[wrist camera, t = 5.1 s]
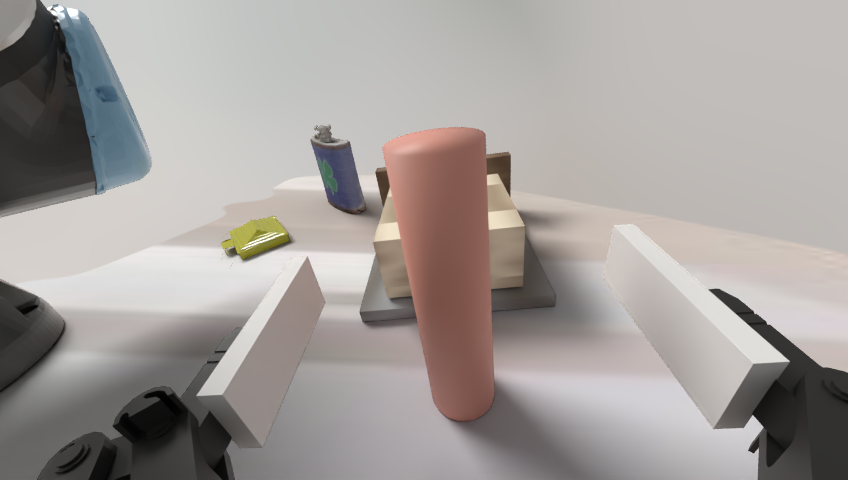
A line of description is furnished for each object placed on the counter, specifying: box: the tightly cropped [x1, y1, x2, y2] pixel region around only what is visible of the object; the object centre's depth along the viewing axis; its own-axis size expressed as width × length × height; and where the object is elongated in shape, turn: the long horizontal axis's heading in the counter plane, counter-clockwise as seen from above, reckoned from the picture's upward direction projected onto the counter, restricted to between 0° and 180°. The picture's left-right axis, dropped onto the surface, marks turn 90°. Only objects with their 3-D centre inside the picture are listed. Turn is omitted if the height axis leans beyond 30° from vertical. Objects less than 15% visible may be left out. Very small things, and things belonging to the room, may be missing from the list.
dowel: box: [383, 127, 494, 421], centre depth 14 cm, size 4×4×14 cm
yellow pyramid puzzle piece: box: [221, 216, 290, 264], centre depth 38 cm, size 10×9×3 cm
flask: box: [311, 125, 366, 214], centre depth 41 cm, size 9×3×11 cm, turn 38°
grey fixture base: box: [360, 152, 556, 322], centre depth 28 cm, size 14×16×6 cm
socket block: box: [373, 174, 525, 298], centre depth 26 cm, size 10×10×5 cm
